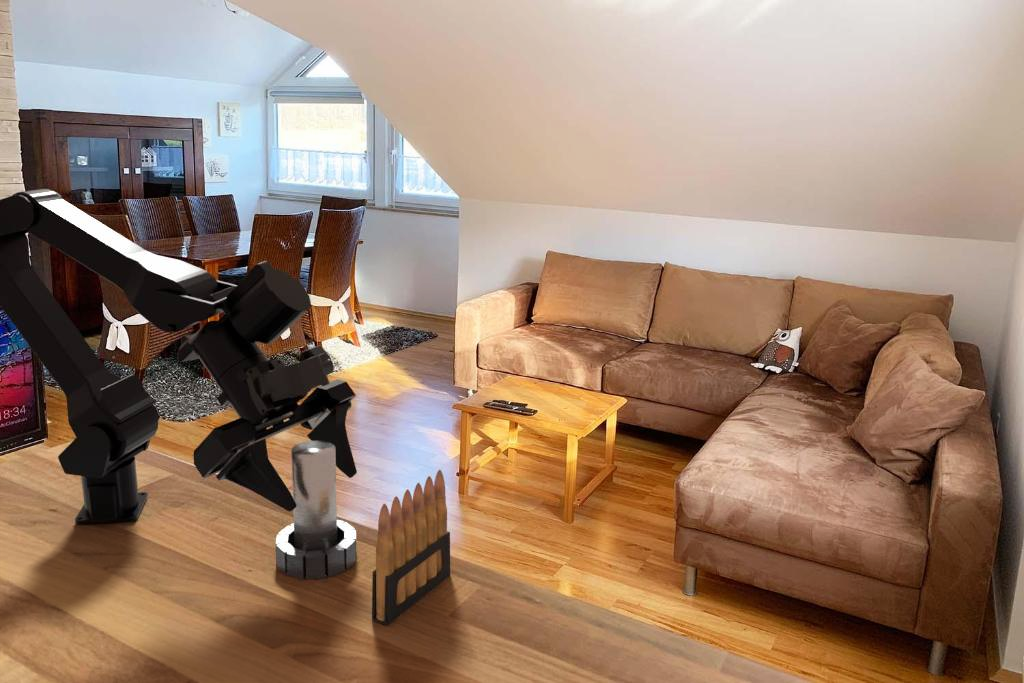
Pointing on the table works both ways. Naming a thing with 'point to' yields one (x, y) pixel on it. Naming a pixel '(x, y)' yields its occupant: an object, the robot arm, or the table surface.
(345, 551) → the ring
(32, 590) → the table surface
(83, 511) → the robot arm
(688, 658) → the table surface
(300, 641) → the table surface
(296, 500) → the silver tall cylinder
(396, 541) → the ammunition clip
